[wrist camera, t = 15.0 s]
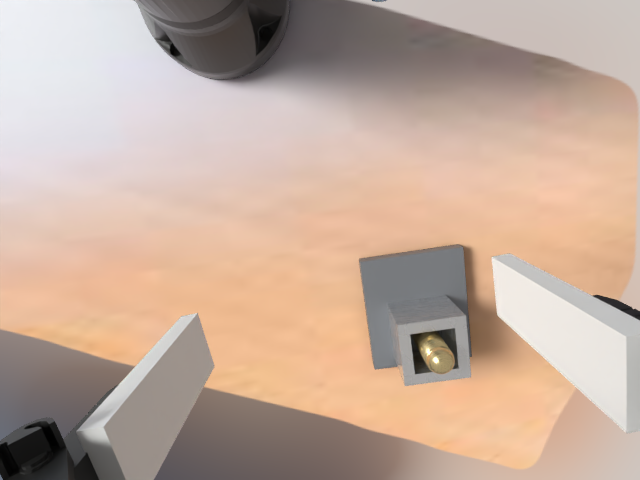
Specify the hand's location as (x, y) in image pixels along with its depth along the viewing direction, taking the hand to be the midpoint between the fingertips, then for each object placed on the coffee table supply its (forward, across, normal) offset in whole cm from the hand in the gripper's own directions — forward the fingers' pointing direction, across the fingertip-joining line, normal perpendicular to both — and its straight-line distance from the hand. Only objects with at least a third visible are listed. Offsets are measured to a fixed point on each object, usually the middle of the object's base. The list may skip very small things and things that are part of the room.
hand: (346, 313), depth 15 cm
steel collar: (+24, +8, -15) cm, 29 cm away
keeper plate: (+25, +8, -13) cm, 30 cm away
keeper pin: (+24, +8, -15) cm, 29 cm away
